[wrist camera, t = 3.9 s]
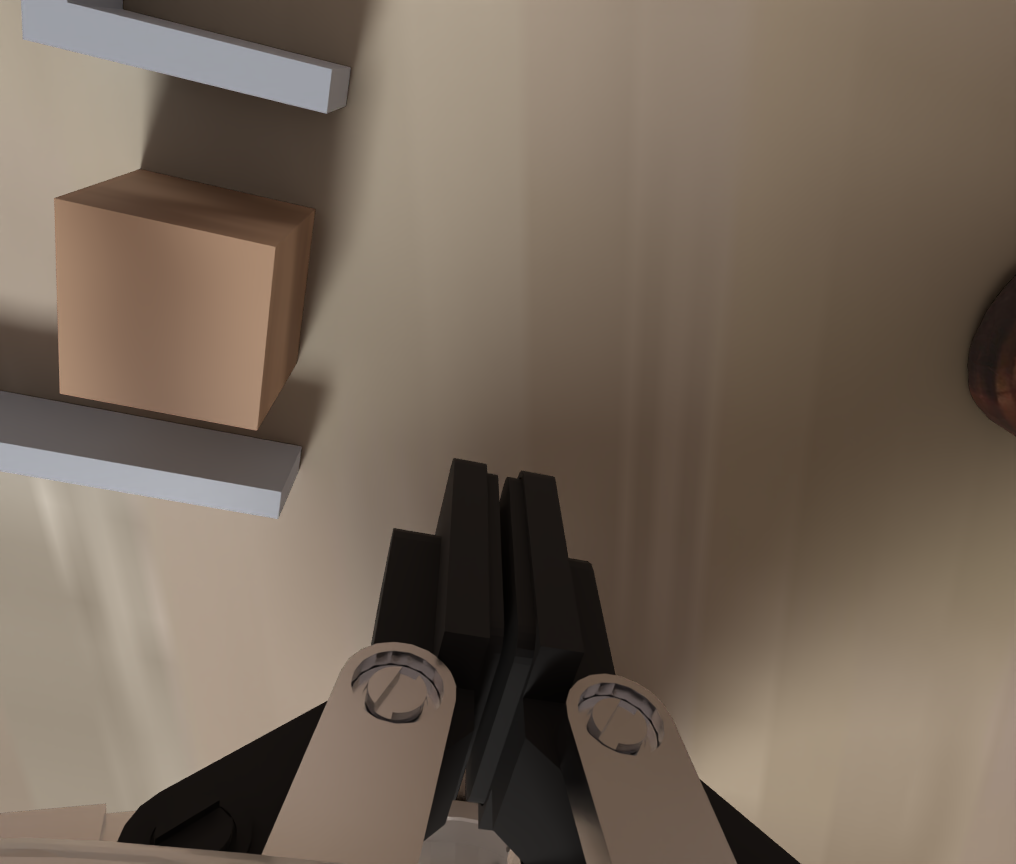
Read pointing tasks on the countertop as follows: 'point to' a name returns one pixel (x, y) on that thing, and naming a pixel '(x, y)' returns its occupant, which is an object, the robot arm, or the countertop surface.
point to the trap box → (133, 439)
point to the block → (179, 296)
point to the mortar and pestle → (996, 361)
